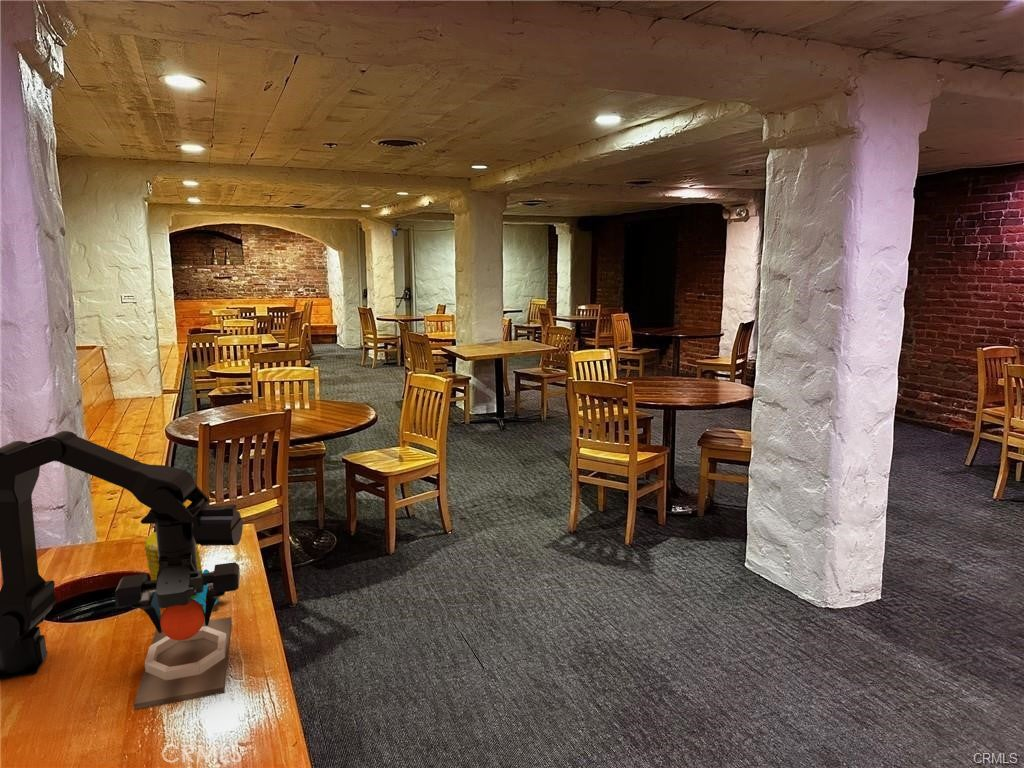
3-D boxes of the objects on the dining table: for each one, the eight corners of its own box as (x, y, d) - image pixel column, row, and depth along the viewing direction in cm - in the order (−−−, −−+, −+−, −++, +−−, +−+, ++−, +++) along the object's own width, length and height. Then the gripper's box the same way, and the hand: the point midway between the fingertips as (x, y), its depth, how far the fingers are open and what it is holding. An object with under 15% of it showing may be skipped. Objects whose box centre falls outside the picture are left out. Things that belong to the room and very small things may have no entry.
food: (213, 593, 142) (175, 619, 133) (171, 572, 146) (131, 596, 136) (218, 533, 137) (178, 556, 128) (174, 512, 141) (132, 533, 132)
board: (134, 709, 105) (133, 704, 105) (156, 633, 125) (156, 628, 125) (224, 692, 109) (223, 687, 109) (231, 621, 129) (231, 616, 129)
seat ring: (141, 684, 109) (140, 676, 109) (154, 642, 120) (153, 634, 120) (223, 670, 113) (222, 661, 113) (228, 630, 125) (227, 622, 124)
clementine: (195, 619, 121) (192, 583, 120) (220, 630, 118) (217, 593, 116) (153, 640, 114) (149, 603, 113) (178, 653, 111) (174, 614, 109)
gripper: (102, 575, 102) (112, 665, 105) (233, 558, 108) (239, 644, 111) (117, 544, 112) (126, 627, 115) (237, 530, 118) (242, 610, 122)
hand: (184, 628), depth 116 cm, fingers closed on clementine, 7 cm apart
